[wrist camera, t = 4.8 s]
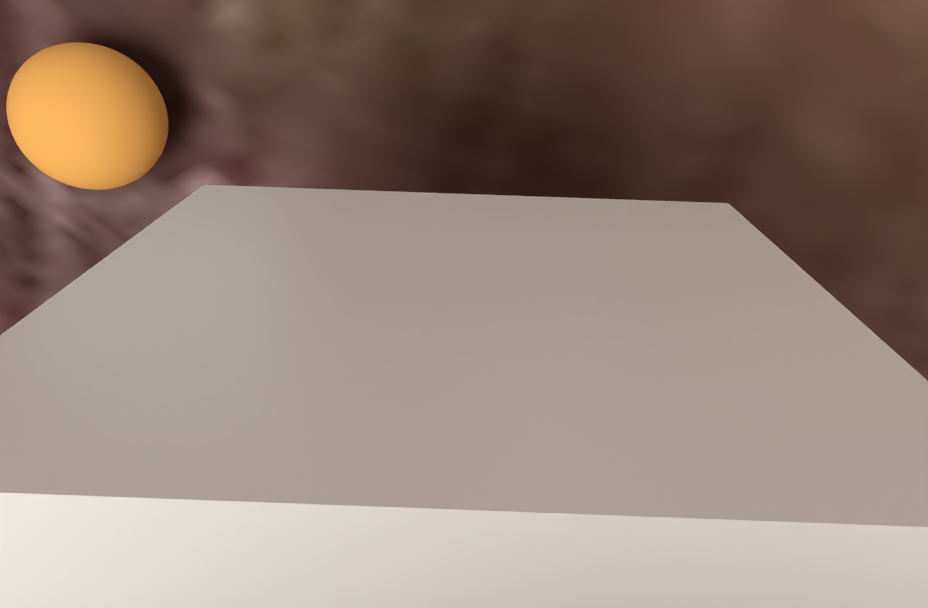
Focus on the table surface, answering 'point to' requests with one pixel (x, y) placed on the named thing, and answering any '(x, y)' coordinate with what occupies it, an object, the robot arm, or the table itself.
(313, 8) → the table surface
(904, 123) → the table surface
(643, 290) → the plain cream cube
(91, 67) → the ball
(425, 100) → the table surface
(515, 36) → the table surface
